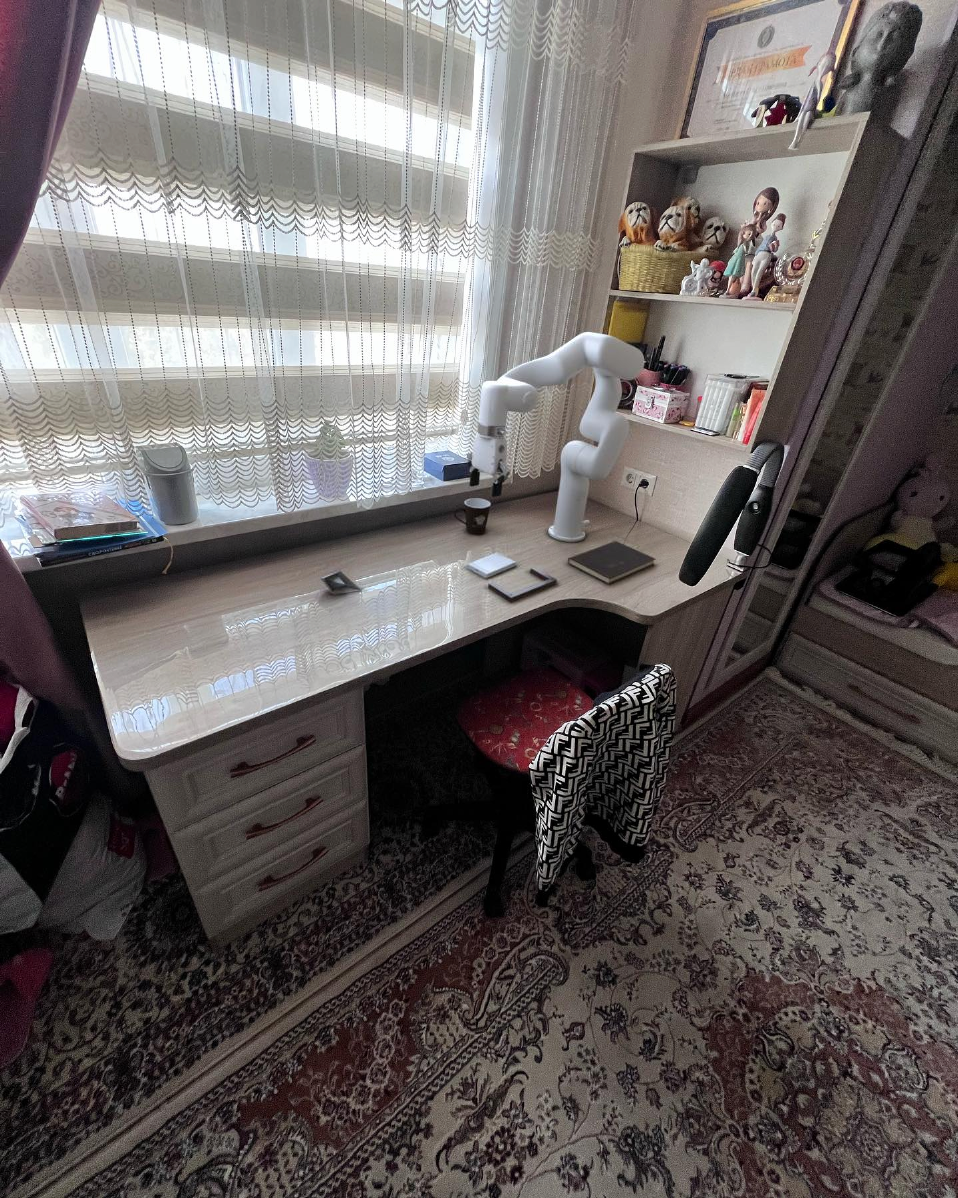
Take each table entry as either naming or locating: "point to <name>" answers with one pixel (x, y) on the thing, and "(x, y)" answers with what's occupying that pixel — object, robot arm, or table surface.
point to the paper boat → (339, 583)
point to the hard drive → (491, 565)
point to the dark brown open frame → (527, 591)
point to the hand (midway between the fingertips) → (484, 490)
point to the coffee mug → (475, 515)
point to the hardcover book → (611, 562)
